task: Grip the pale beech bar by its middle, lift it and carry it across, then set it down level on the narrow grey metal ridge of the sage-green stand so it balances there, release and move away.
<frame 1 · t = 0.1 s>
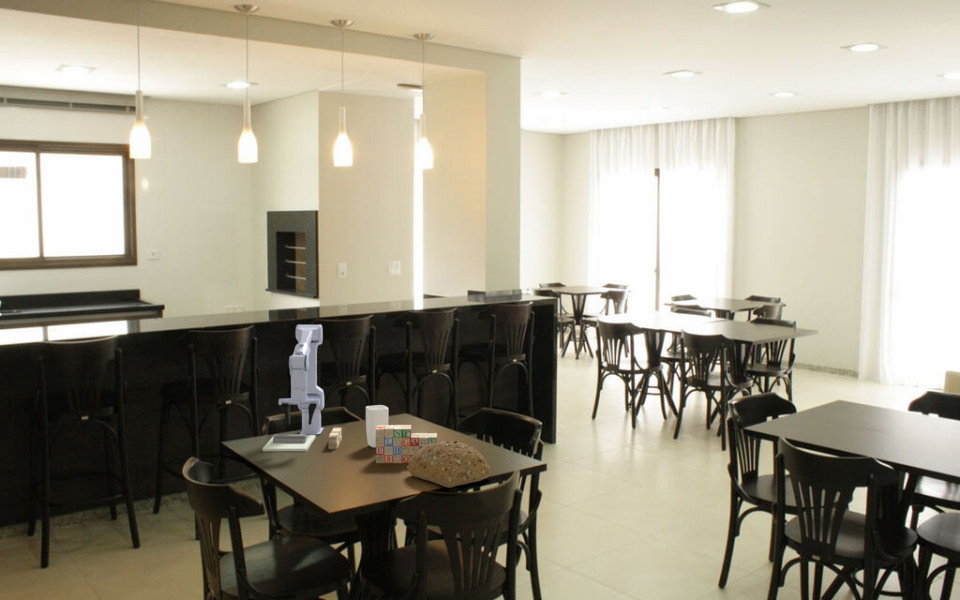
hand: (299, 424, 295), 10 cm above the table, fingers open, 7 cm apart
fulcrum stand: (290, 444, 305), on the table
bread: (449, 478, 266), on the table
beech rod: (335, 444, 306), on the table
stack of blocks: (406, 461, 285), on the table
cup: (377, 446, 304), on the table
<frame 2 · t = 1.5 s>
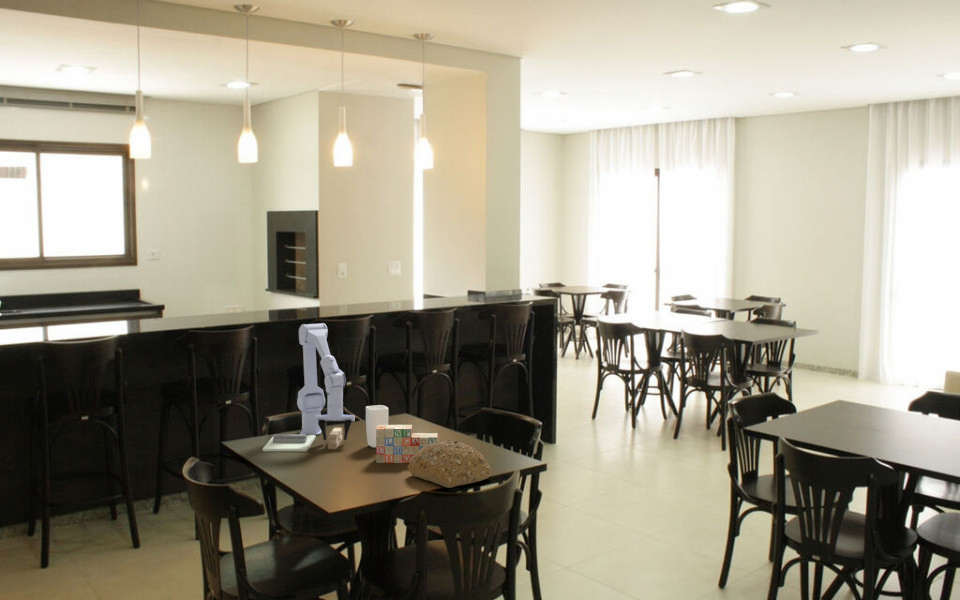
hand: (335, 439, 306), 2 cm above the table, fingers open, 7 cm apart
nothing on the table moved.
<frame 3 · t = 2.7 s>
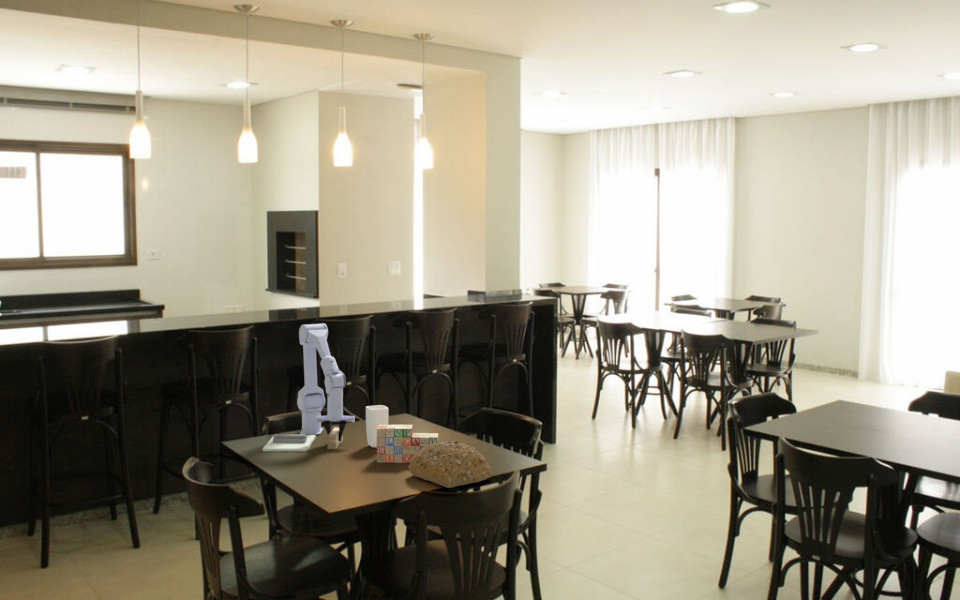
hand: (335, 440, 306), 1 cm above the table, fingers closed on beech rod, 3 cm apart
beech rod: (335, 444, 306), on the table, touching gripper
everything else where it was.
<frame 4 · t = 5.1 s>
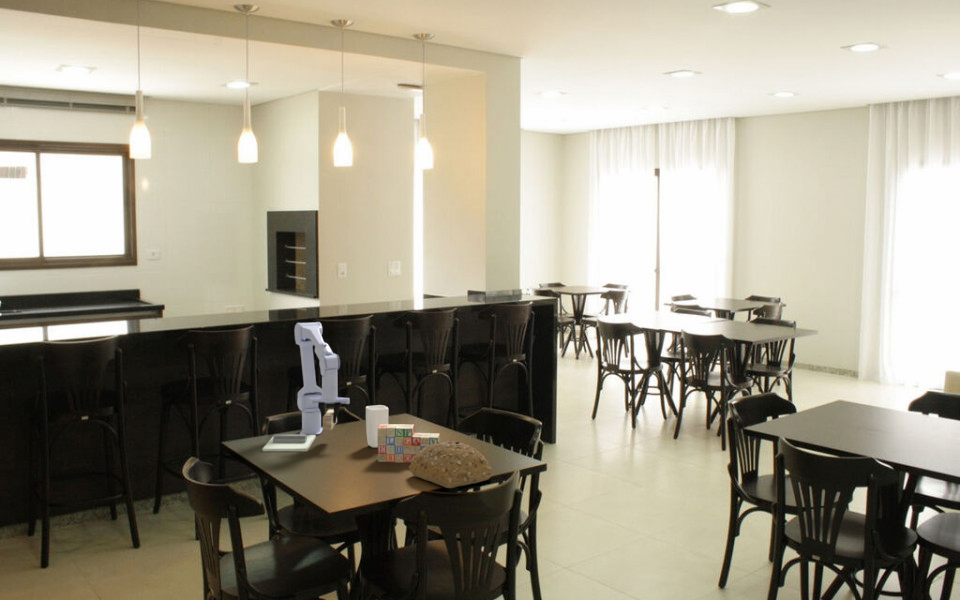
hand: (329, 422, 305), 8 cm above the table, fingers closed on beech rod, 3 cm apart
beech rod: (329, 426, 305), point 7 cm above the table, touching gripper
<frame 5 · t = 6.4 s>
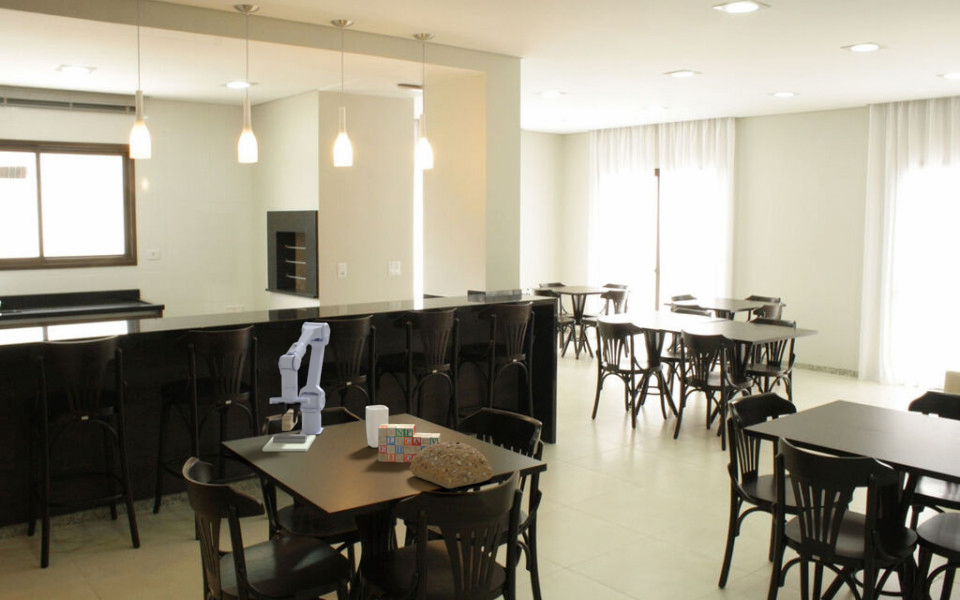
hand: (289, 422, 305), 8 cm above the table, fingers closed on beech rod, 3 cm apart
beech rod: (289, 426, 305), point 7 cm above the table, touching gripper
when the fingers open (6 cm above the table, at t = 7.7 s): beech rod stays where it is, resting on fulcrum stand.
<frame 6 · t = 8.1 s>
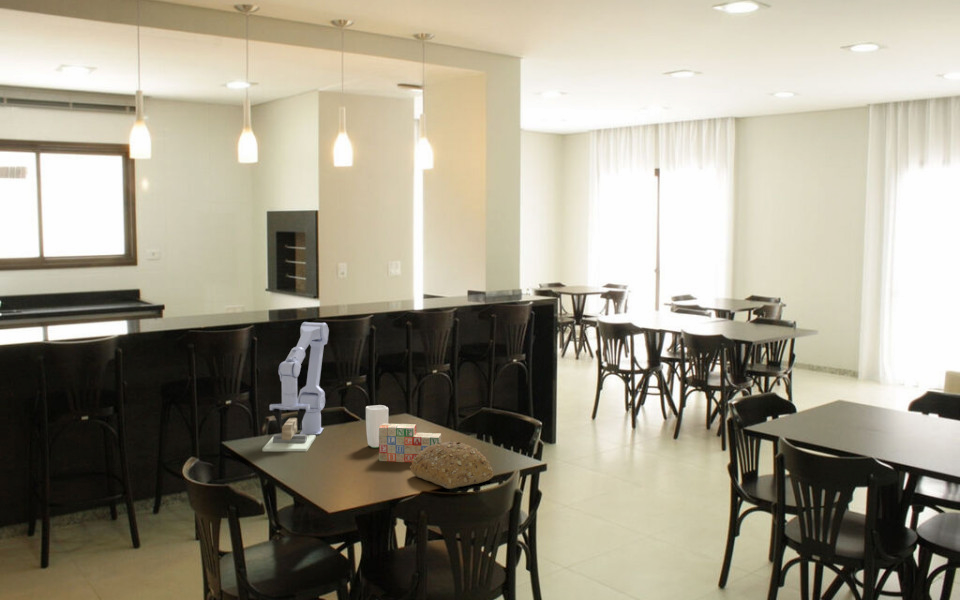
hand: (289, 428, 305), 6 cm above the table, fingers open, 7 cm apart
beech rod: (289, 435, 305), point 3 cm above the table, touching fulcrum stand
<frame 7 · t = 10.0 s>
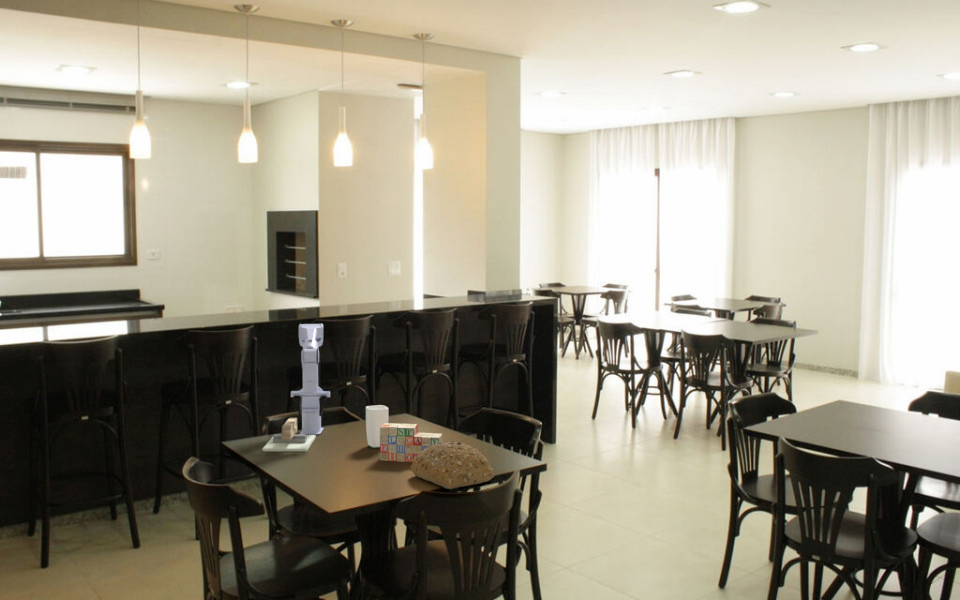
hand: (310, 415, 307), 10 cm above the table, fingers open, 7 cm apart
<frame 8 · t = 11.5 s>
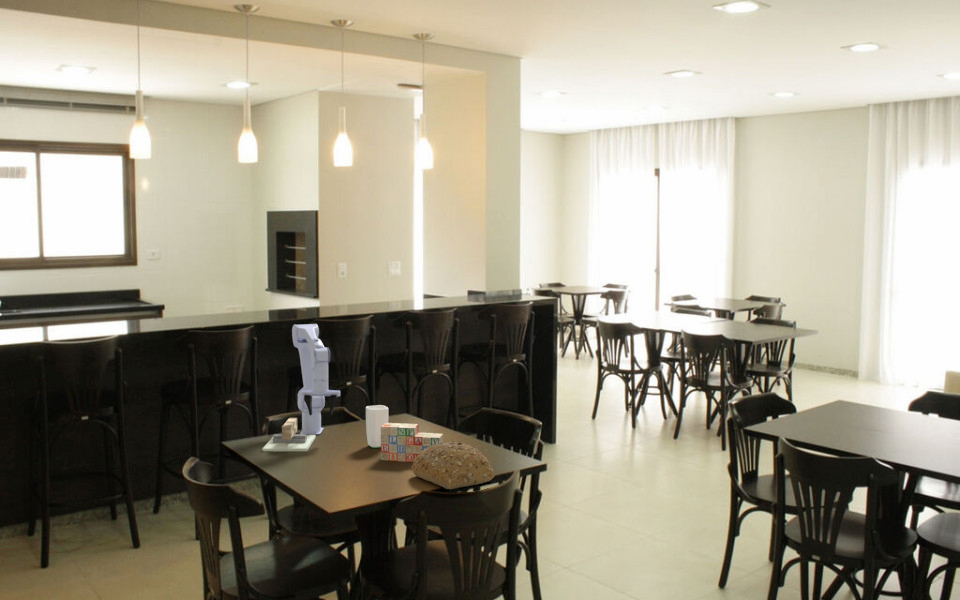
hand: (320, 414, 309), 10 cm above the table, fingers open, 7 cm apart
at the end: beech rod inside the target area on the fulcrum stand (0.1 cm from its centre), point 3.5 cm above the fulcrum stand's base; beech rod tilted 0°; the gripper is holding nothing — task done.
